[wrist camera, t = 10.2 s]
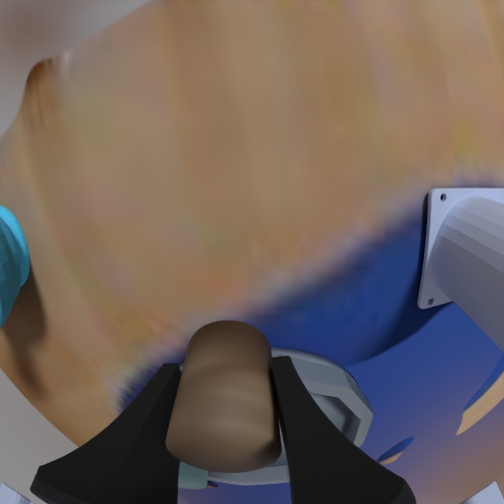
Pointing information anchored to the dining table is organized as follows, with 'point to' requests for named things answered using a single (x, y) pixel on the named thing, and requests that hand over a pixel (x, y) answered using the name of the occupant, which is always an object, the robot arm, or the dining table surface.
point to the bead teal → (192, 477)
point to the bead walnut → (226, 401)
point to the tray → (328, 399)
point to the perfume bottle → (11, 262)
